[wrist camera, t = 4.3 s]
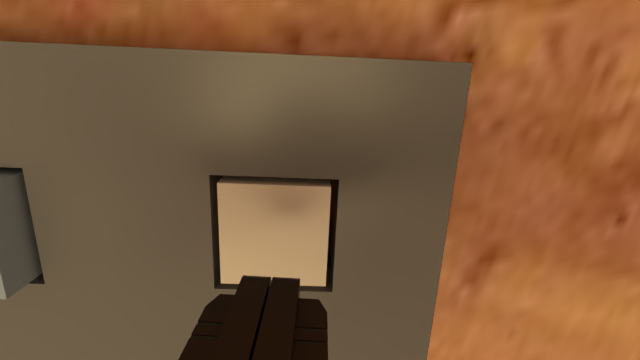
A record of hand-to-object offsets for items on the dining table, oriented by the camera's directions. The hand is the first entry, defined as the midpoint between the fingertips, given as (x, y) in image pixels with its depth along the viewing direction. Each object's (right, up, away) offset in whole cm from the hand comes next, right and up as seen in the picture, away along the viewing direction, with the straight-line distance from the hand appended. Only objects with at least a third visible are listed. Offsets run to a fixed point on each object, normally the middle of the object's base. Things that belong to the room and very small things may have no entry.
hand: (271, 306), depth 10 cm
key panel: (-7, +2, +9) cm, 11 cm away
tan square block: (-1, +2, +7) cm, 7 cm away
